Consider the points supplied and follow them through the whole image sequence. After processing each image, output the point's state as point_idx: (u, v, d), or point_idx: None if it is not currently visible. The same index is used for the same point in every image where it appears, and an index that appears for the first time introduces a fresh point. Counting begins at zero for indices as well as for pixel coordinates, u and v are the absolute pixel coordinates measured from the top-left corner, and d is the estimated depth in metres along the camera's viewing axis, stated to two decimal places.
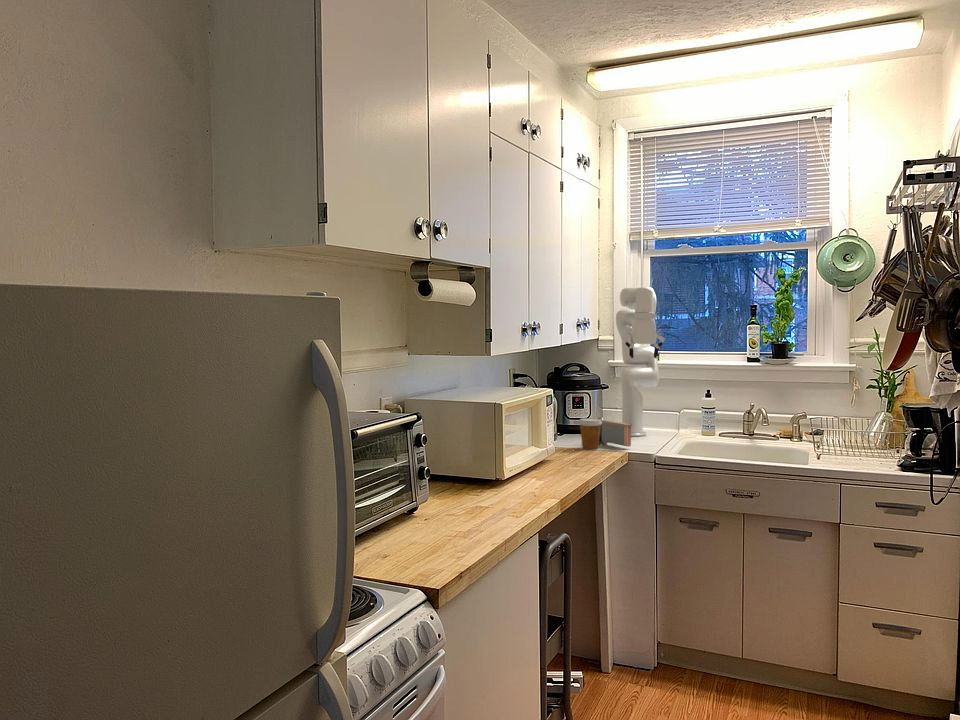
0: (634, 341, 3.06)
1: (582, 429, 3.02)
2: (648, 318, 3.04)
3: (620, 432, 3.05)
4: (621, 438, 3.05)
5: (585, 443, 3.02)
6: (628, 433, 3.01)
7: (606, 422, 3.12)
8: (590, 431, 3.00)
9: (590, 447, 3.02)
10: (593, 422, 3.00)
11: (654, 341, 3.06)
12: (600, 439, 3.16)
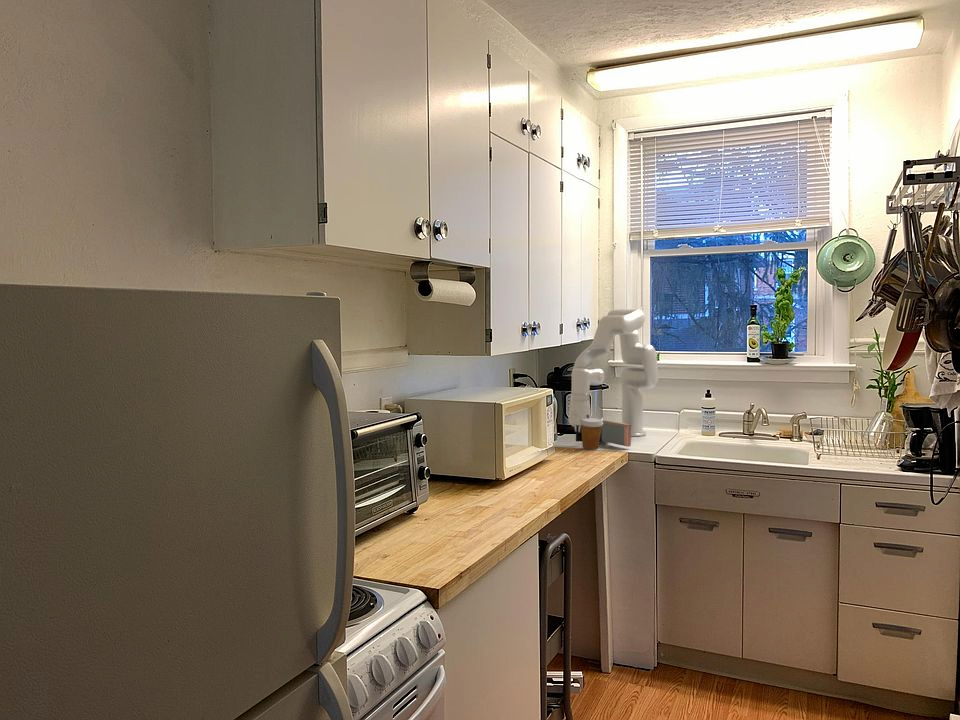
0: None
1: (583, 429, 3.01)
2: None
3: (620, 432, 3.05)
4: (621, 438, 3.05)
5: (586, 443, 3.02)
6: (628, 433, 3.01)
7: (606, 422, 3.12)
8: (591, 432, 2.99)
9: (590, 447, 3.01)
10: (594, 423, 2.98)
11: None
12: (600, 439, 3.16)
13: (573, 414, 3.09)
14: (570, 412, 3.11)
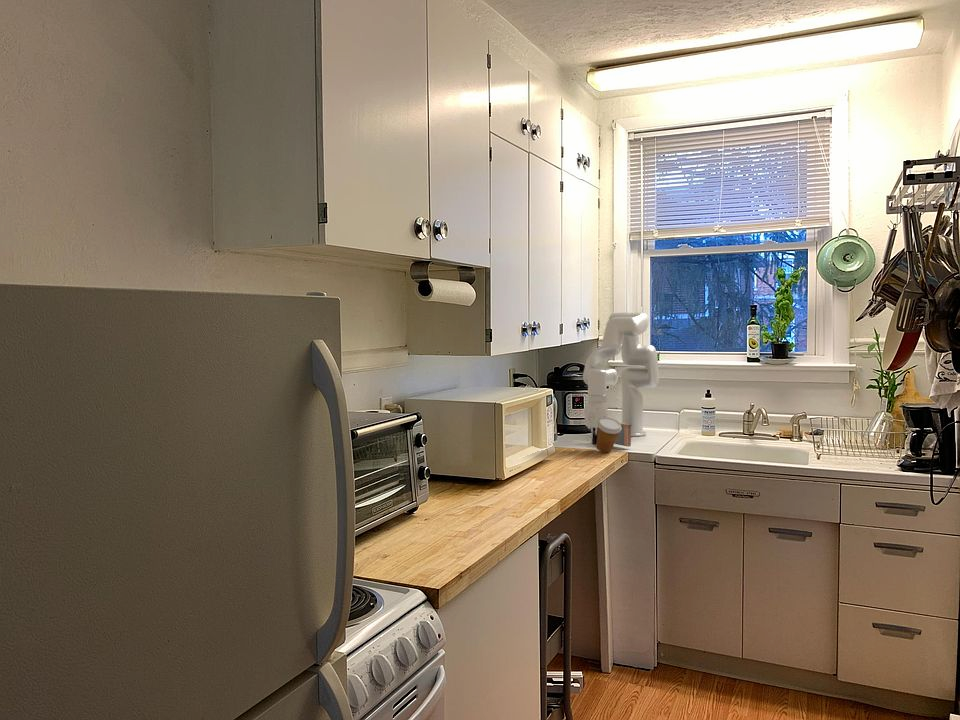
0: None
1: (600, 432, 2.91)
2: None
3: (620, 432, 3.05)
4: (621, 438, 3.05)
5: (600, 446, 2.93)
6: (628, 433, 3.01)
7: None
8: (607, 437, 2.90)
9: (603, 450, 2.93)
10: (612, 430, 2.88)
11: None
12: None
13: (589, 416, 2.99)
14: (586, 414, 3.01)
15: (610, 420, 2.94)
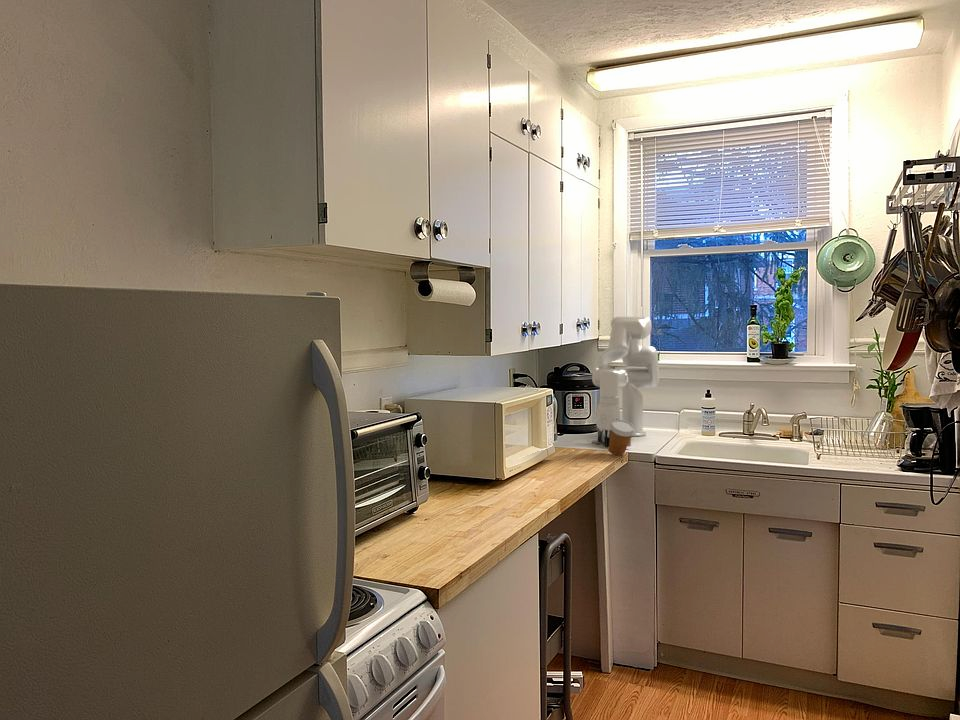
0: None
1: (612, 435, 2.84)
2: None
3: None
4: None
5: (612, 449, 2.87)
6: None
7: None
8: (620, 440, 2.83)
9: (616, 453, 2.87)
10: (625, 433, 2.81)
11: None
12: (600, 439, 3.16)
13: (602, 418, 2.92)
14: (598, 416, 2.94)
15: (623, 422, 2.87)
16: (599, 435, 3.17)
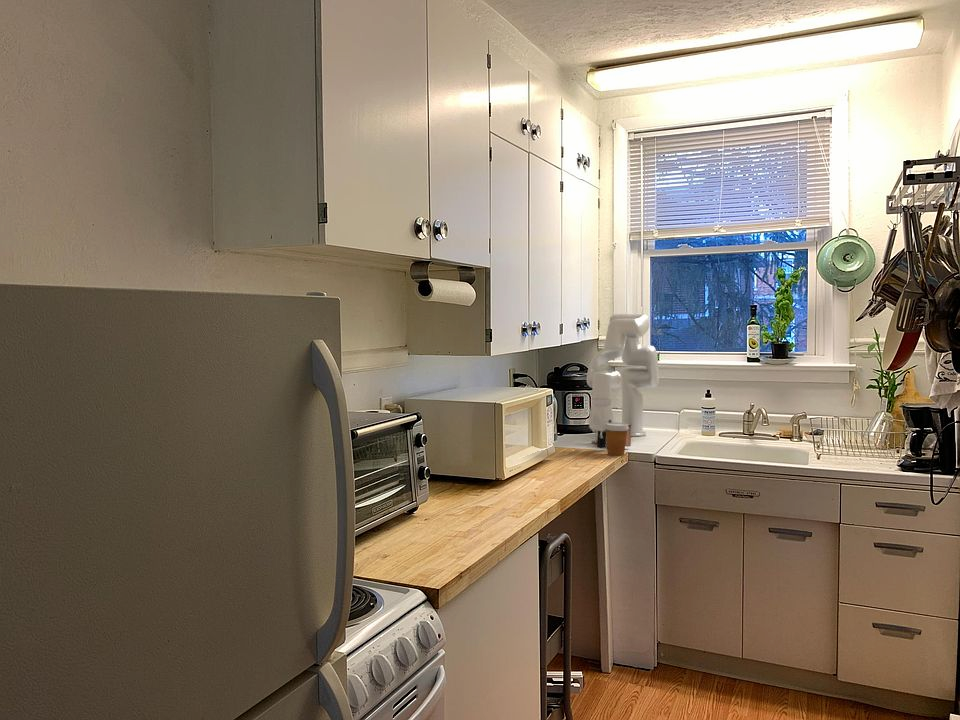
0: None
1: (608, 434, 2.88)
2: None
3: None
4: None
5: (611, 449, 2.88)
6: (628, 433, 3.01)
7: None
8: (616, 436, 2.86)
9: (616, 453, 2.87)
10: (619, 427, 2.85)
11: None
12: None
13: (594, 419, 2.97)
14: (591, 417, 2.99)
15: (616, 424, 2.93)
16: None
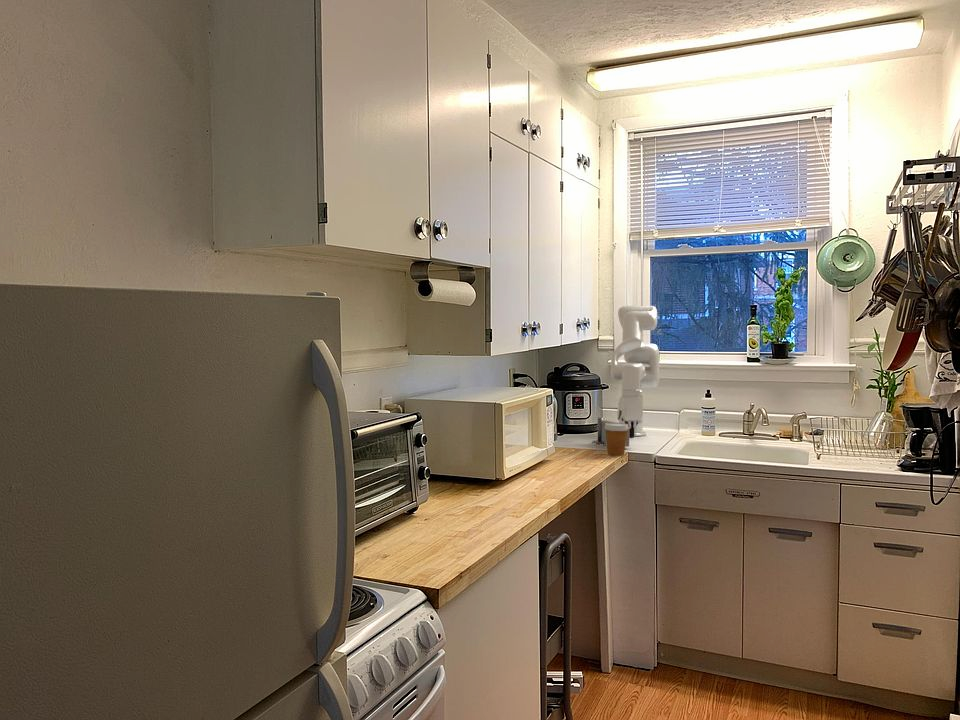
0: (625, 419, 3.03)
1: (608, 434, 2.88)
2: (638, 395, 3.03)
3: None
4: None
5: (611, 449, 2.88)
6: None
7: (605, 422, 3.12)
8: (616, 436, 2.86)
9: (616, 453, 2.87)
10: (619, 427, 2.85)
11: (641, 418, 3.06)
12: (600, 439, 3.16)
13: None
14: None
15: (616, 424, 2.92)
16: (599, 435, 3.17)
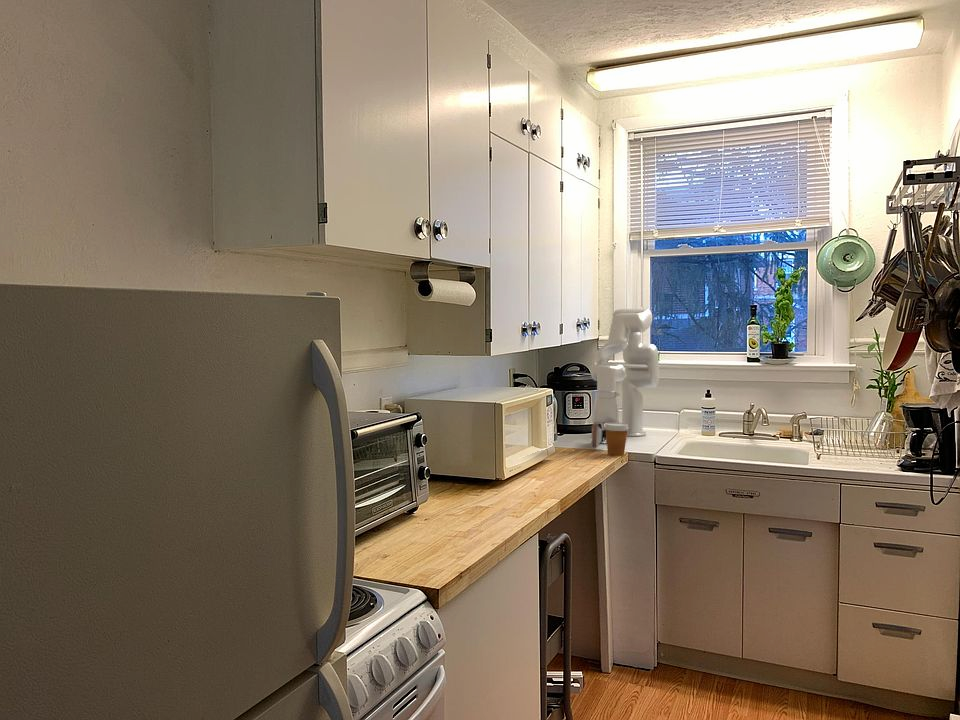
0: (596, 420, 3.01)
1: (608, 434, 2.88)
2: (609, 397, 2.98)
3: None
4: None
5: (611, 449, 2.88)
6: (593, 433, 3.00)
7: None
8: (616, 436, 2.86)
9: (616, 453, 2.87)
10: (619, 427, 2.85)
11: (616, 420, 3.00)
12: None
13: None
14: None
15: (616, 424, 2.93)
16: None
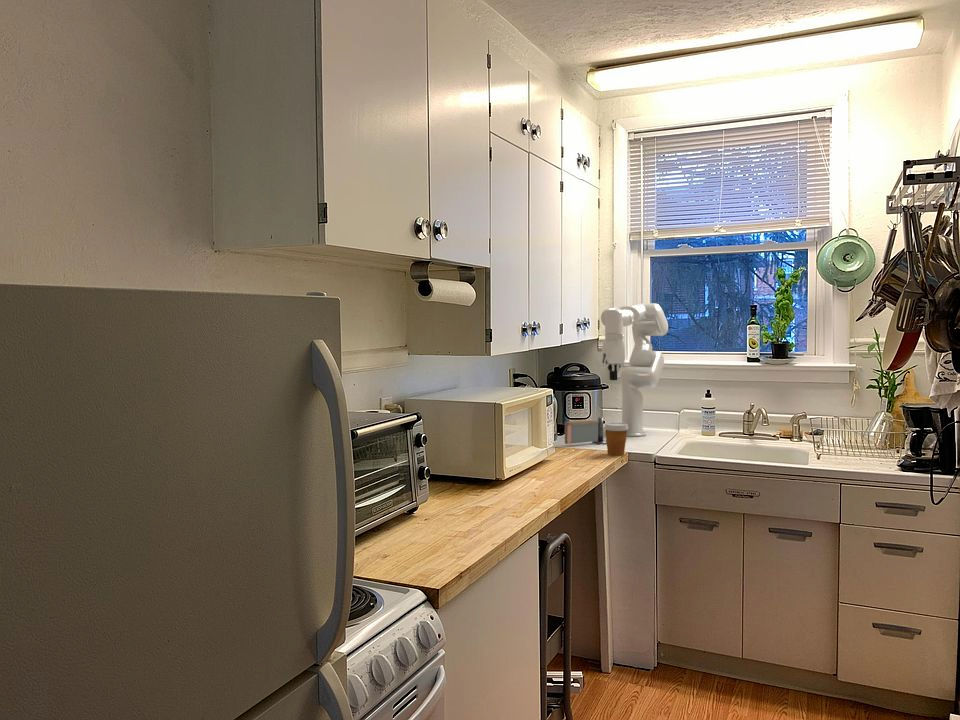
0: (609, 361, 3.16)
1: (608, 434, 2.88)
2: (621, 339, 3.17)
3: None
4: None
5: (611, 449, 2.88)
6: (565, 430, 3.09)
7: None
8: (616, 436, 2.86)
9: (616, 453, 2.87)
10: (619, 427, 2.86)
11: (623, 361, 3.20)
12: (600, 439, 3.16)
13: None
14: None
15: (615, 424, 2.93)
16: (599, 435, 3.17)
